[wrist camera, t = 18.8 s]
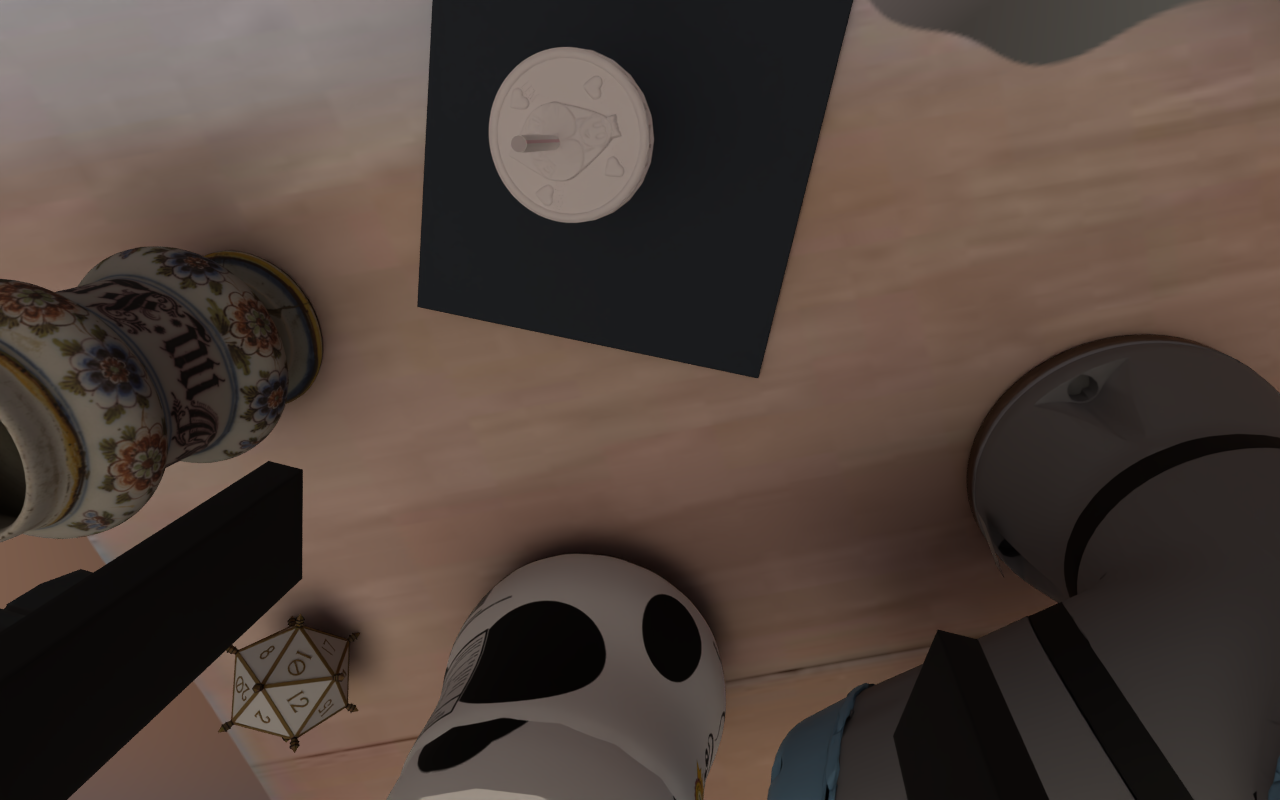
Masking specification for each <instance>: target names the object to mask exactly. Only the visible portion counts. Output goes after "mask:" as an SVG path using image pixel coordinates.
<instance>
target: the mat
mask: <svg viewBox="0 0 1280 800" xmlns="http://www.w3.org/2000/svg"><path fill="white" fill-rule="evenodd" d="M852 3H853V0H433V4H432V24H431V44H430V64H429V84H428V105H427V125H426V145H425V165H424V185H423V205H422V225H421V246H420V266H419V286H418V307H421V308H426V309H431V310H435V311H440V312H445V313H450V314H454V315H459V316H464V317H469V318H473V319H478V320H483V321H488V322H492V323H497V324H502V325H507V326H512V327H516V328H521V329H526V330H531V331H535V332H540V333H545V334H550V335H554V336H559V337H564V338H569V339H573V340H578V341H583V342H588V343H592V344H597V345H602V346H607V347H611V348H616V349H621V350H626V351H630V352H635V353H640V354H645V355H649V356H654V357H659V358H664V359H668V360H673V361H678V362H683V363H688V364H692V365H697V366H702V367H707V368H711V369H716V370H721V371H726V372H730V373H735V374H740V375H745V376H749V377H754V378H758V377H759V373H760V369H761V365H762V361H763V357H764V353H765V349H766V345H767V341H768V337H769V333H770V329H771V325H772V321H773V317H774V313H775V309H776V305H777V301H778V297H779V293H780V289H781V285H782V281H783V278H784V274H785V270H786V266H787V262H788V258H789V254H790V250H791V246H792V242H793V238H794V234H795V230H796V226H797V222H798V218H799V214H800V210H801V206H802V202H803V198H804V194H805V190H806V186H807V182H808V178H809V174H810V170H811V166H812V162H813V158H814V154H815V150H816V146H817V142H818V138H819V134H820V130H821V126H822V122H823V118H824V114H825V110H826V106H827V102H828V98H829V94H830V90H831V86H832V82H833V78H834V74H835V70H836V66H837V62H838V58H839V54H840V50H841V46H842V42H843V38H844V34H845V30H846V26H847V22H848V18H849V14H850V10H851V7H852ZM558 47H573V48H580V49H586V50H593V51H595V52H597V53H599V54H602V55H604V56H606V57H608V58H610V59H612V60H614V61H615V62H616V63H617V64H619V65H620V66H621V67H622V68H623V69H624V70H625V71H627V72H628V73H629V74H630V75H631V76H632V78H633V79H634V81H635V82H636V84H637V85H638V87H639V88H640V89H641V91H642V92H643V94H644V96H645V99H646V102H647V105H648V107H649V110H650V113H651V116H652V123H653V133H654V145H653V152H652V159H651V164H650V166H649V168H648V171H647V173H646V176H645V178H644V181H643V183H642V184H641V186H640V187H639V188H638V190H637V191H636V192H635V194H634V195H633V196H632V198H631V199H630V200H629V201H628V202H627V203H625V204H624V205H623V206H621V207H620V208H619V209H617V210H616V211H615V212H614V213H611V214H609V215H606V216H604V217H601V218H599V219H596V220H592V221H586V222H579V223H565V222H558V221H553V220H550V219H547V218H544V217H542V216H540V215H538V214H536V213H534V212H532V211H531V210H529V209H528V208H526V207H525V206H524V205H522V204H521V203H520V202H519V201H518V200H517V199H516V198H515V197H514V196H513V195H512V194H511V193H510V191H509V190H508V189H507V187H506V186H505V184H504V183H503V181H502V180H501V178H500V176H499V174H498V172H497V170H496V167H495V164H494V161H493V158H492V154H491V150H490V144H489V120H490V114H491V109H492V105H493V102H494V99H495V97H496V94H497V92H498V90H499V88H500V86H501V85H502V83H503V82H504V80H505V79H506V77H507V76H508V75H509V74H510V72H511V71H512V70H513V69H514V68H515V67H516V66H517V65H519V64H520V63H521V62H522V61H524V60H525V59H527V58H528V57H530V56H532V55H534V54H536V53H538V52H541V51H544V50H548V49H551V48H558Z"/></svg>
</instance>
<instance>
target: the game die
mask: <svg viewBox="0 0 1280 800" xmlns="http://www.w3.org/2000/svg"><path fill="white" fill-rule="evenodd" d="M304 620H305V619H304V618H303V617H302V615H301V614H300V615H299V616H298V617H297V618H296V619H295V618H294V617H293V616H291V618H290V619H289V620H288V625H289V627H288V628H285V629H283V630H281V631H279V632H277V633H274V634H272V635H270V636H268V637H266V638H264V639H261V640H259V641H257V642H255V643H253V644H251V645H248V646H246V647H244V648H242V649H240V650H238V649H237V648H236V646H235V647H234V646H233V645H231V646H230V647H229V648H228V649H227V650H226V651H227V653H228V652H229V653H230V654H235V670H234V685H233V701H232V716H231V721H229V722H225V724H222V726H221V728H220V730H219V731H218V732H225V731H226V732H227V730H228V729H231V727H232V725H238V726H242V727H245V728H249V729H253V730H257V731H261V732H264V733H268V734H272V735H276V736H280V737H282V739H283V740H284V741H285V742H287V741H288V740H290V739H291V742H290V745H291V746H290V749H292V750H293V751H294V753H295V751H296V749H297V748H298V747H299V741H298V739H297V738H299V737H300V736H302V735H303V734H305V733H306V732H308V731H310V730H311V729H313V728H314V727H316V726H317V725H319V724H320V723H322V722H324V721H325V720H327V719H328V718H330V717H331V716H333V715H335V714H336V713H338V712H339V711H341V710H342V709H344V708H346V709H347V710H348V711H350V713H351V712H355V711H358V709H357V708H356V705H353V704H352V703H351V704H349V703H348V682H349V644H350V642H352V641H354V640H355V639H357V638H358V636H359V634H360V633H352V635H349V638H347V639H345V638H342V637H339V636H335V635H332V634H329V633H326V632H322V631H319V630H316V629H313V628H309V627H306V626H303V623H304ZM295 624H296V625H295Z"/></svg>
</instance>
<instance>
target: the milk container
mask: <svg viewBox="0 0 1280 800" xmlns="http://www.w3.org/2000/svg"><path fill="white" fill-rule="evenodd" d="M725 711H726V690H725V681H724V673H723V668H722V663H721V659H720V655H719V651H718V647H717V644H716V641H715V638H714V636H713V634H712V632H711V630H710V628H709V626H708V624H707V623H706V621H705V619H704V618H703V617H702V615H701V614H700V612H699V611H698V610H697V608H696V607H695V606H694V605H693V603H692V602H691V601H690V600H689V598H687V597H686V596H685V595H684V594H683V593H682V592H681V591H680V590H678V589H677V588H676V587H675V586H673V585H672V584H671V583H669V582H668V581H667V580H666V579H664V578H663V577H661V576H660V575H658V574H657V573H655V572H653V571H651V570H649V569H647V568H645V567H642V566H640V565H637V564H634V563H632V562H629V561H626V560H624V559H620V558H617V557H614V556H608V555H599V554H585V553H568V554H562V555H557V556H554V557H550V558H545V559H542V560H538V561H535V562H532V563H530V564H527V565H525V566H523V567H521V568H519V569H517V570H515V571H514V572H512V573H511V574H509V575H508V576H506V577H505V578H504V579H503V580H501V581H500V582H499V583H498V584H497V585H496V586H495V587H494V588H493V589H492V590H491V591H490V592H489V593H488V594H487V595H486V596H485V597H484V598H483V599H482V600H481V601H480V602H479V604H478V605H477V606H476V607H475V609H474V610H473V611H472V612H471V614H470V615H469V617H468V618H467V620H466V622H465V623H464V625H463V626H462V628H461V630H460V632H459V634H458V636H457V638H456V640H455V643H454V645H453V648H452V650H451V653H450V656H449V660H448V664H447V668H446V672H445V677H444V682H443V688H442V693H441V697H440V700H439V702H438V705H437V706H436V708H435V710H434V712H433V714H432V715H431V717H430V719H429V720H428V722H427V724H426V725H425V727H424V729H423V730H422V732H421V734H420V735H419V737H418V739H417V740H416V742H415V744H414V746H413V747H412V749H411V751H410V753H409V755H408V757H407V759H406V761H405V763H404V766H403V769H402V772H401V775H400V777H399V779H398V780H397V782H396V784H395V786H394V787H393V789H392V791H391V792H390V794H389V796H388V798H387V799H386V800H704V787H705V782H706V778H707V776H708V773H709V771H710V768H711V766H712V763H713V761H714V759H715V756H716V753H717V750H718V747H719V744H720V741H721V737H722V732H723V727H724V721H725Z"/></svg>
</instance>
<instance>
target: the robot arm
mask: <svg viewBox="0 0 1280 800" xmlns="http://www.w3.org/2000/svg"><path fill="white" fill-rule="evenodd" d="M967 492H968V499H969V503H970V507H971V510H972V513H973V515H974V518H975V520H976V522H977V524H978V526H979V528H980V530H981V531H982V533H983V535H984V537H985V538H986V540H987V542H988V543H989V546H990V549H991V552H992V555H993V557H994V560H995V563H996V565H997V567H998V569H999V570H1000V572H1001V574H1002V576H1003V573H1002V571H1001V568H1000V565H999V562H998V559H997V556H996V554H997V555H998V556H999V558H1000V559H1001V560H1002V561H1003V562H1004V563H1005V564H1006V565H1007V566H1008V567H1009V568H1010V569H1011V570H1012V571H1013V572H1014V573H1015V574H1017V575H1018V576H1019V577H1020V578H1022V579H1023V580H1024V581H1026V582H1027V583H1028V584H1030V585H1031V586H1033V587H1035V588H1036V589H1038V590H1039V591H1041V592H1042V593H1044V594H1045V595H1047V596H1049V597H1050V598H1052V599H1053V600H1055V601H1056V602H1058V604H1056V605H1053V606H1051V607H1049V608H1047V609H1045V610H1042V611H1040V612H1038V613H1036V614H1033V615H1031V616H1029V617H1028V616H1027V617H1024V618H1022V619H1020V620H1018V621H1016V622H1013V623H1011V624H1009V625H1007V626H1005V627H1003V628H1000V629H998V630H996V631H994V632H992V633H989V634H987V635H985V636H983V637H981V638H979V639H973V638H969V637H965V636H961V635H957V634H953V633H949V632H945V631H941V630H937V633H936V635H935V637H934V640H933V642H932V645H931V647H930V649H929V652H928V654H927V656H926V659H925V661H924V664H922V665H920V666H917V667H915V668H913V669H911V670H909V671H906V672H904V673H902V674H899V675H897V676H895V677H892V678H890V679H888V680H885V681H883V682H881V683H879V684H876V685H875V684H868V683H864V684H862V685H859V686H857V687H856V688H854V689H853V690H852V691H851V692H850V693H849V694H848V695H847V697H846V698H844V699H842V700H840V701H839V702H837V703H835V704H833V705H831V706H829V707H827V708H825V709H823V710H821V711H819V712H818V713H816V714H814V715H812V716H810V717H808V718H806V719H804V720H803V721H801V722H800V723H798V724H797V725H796V726H795V727H794V728H793V729H792V730H791V731H790V732H789V733H788V734H787V736H786V737H785V739H784V740H783V742H782V743H781V745H780V747H779V749H778V752H777V754H776V757H775V762H774V765H773V767H772V774H771V785H770V788H769V791H768V798H767V800H1280V394H1279V392H1278V391H1277V390H1276V389H1275V388H1274V387H1273V386H1272V385H1270V384H1269V383H1268V382H1267V381H1266V380H1265V379H1263V378H1262V377H1261V376H1260V375H1258V374H1257V373H1256V372H1255V371H1253V370H1252V369H1251V368H1249V367H1248V366H1246V365H1245V364H1243V363H1241V362H1240V361H1238V360H1236V359H1234V358H1232V357H1230V356H1228V355H1226V354H1224V353H1221V352H1219V351H1217V350H1215V349H1213V348H1211V347H1209V346H1206V345H1203V344H1200V343H1197V342H1194V341H1191V340H1186V339H1182V338H1178V337H1171V336H1164V335H1127V336H1119V337H1112V338H1107V339H1102V340H1098V341H1094V342H1091V343H1087V344H1084V345H1081V346H1078V347H1076V348H1073V349H1070V350H1068V351H1066V352H1063V353H1061V354H1059V355H1057V356H1055V357H1053V358H1051V359H1049V360H1048V361H1046V362H1044V363H1042V364H1041V365H1039V366H1037V367H1036V368H1035V369H1033V370H1032V371H1030V372H1029V373H1027V374H1026V375H1025V376H1023V377H1022V378H1021V379H1020V380H1019V381H1017V382H1016V383H1015V384H1014V385H1013V386H1012V387H1011V388H1010V389H1009V390H1008V391H1007V392H1006V393H1005V394H1004V395H1003V396H1002V397H1001V398H1000V399H999V400H998V402H997V403H996V404H995V405H994V407H993V408H992V409H991V411H990V412H989V413H988V415H987V416H986V418H985V420H984V422H983V423H982V425H981V427H980V429H979V431H978V433H977V435H976V437H975V440H974V443H973V446H972V449H971V452H970V456H969V461H968V467H967ZM302 506H303V470H302V469H298V468H294V467H290V466H286V465H282V464H278V463H274V462H270V461H268V462H266V463H265V464H263V465H262V466H260V467H259V468H257V469H255V470H254V471H252V472H251V473H249V474H248V475H246V476H244V477H243V478H241V479H240V480H238V481H237V482H235V483H233V484H232V485H230V486H229V487H227V488H226V489H224V490H222V491H221V492H219V493H218V494H216V495H215V496H213V497H211V498H210V499H208V500H207V501H205V502H204V503H202V504H200V505H199V506H197V507H196V508H194V509H193V510H191V511H189V512H188V513H186V514H185V515H183V516H182V517H180V518H179V519H177V520H175V521H174V522H172V523H171V524H169V525H168V526H166V527H164V528H163V529H161V530H160V531H158V532H157V533H155V534H153V535H152V536H150V537H149V538H147V539H146V540H144V541H142V542H141V543H139V544H138V545H136V546H135V547H133V548H131V549H130V550H128V551H127V552H125V553H124V554H122V555H120V556H119V557H117V558H116V559H114V560H113V561H111V562H109V563H108V564H106V565H105V566H103V567H102V568H100V569H99V570H97V571H95V572H94V573H92V572H89V571H85V570H82V569H80V570H77V571H75V572H72V573H69V574H66V575H64V576H61V577H58V578H55V579H53V580H50V581H47V582H44V583H42V584H40V585H38V586H36V587H35V588H33V589H31V590H30V591H28V592H26V593H25V594H23V595H21V596H20V597H18V598H17V599H15V600H13V601H12V602H10V603H8V604H7V606H6V608H5V609H0V800H67V799H68V798H69V797H70V796H71V795H72V794H73V793H75V792H76V791H77V790H78V789H79V788H80V787H81V786H82V785H83V784H84V783H85V782H86V781H87V780H88V779H89V778H90V777H92V776H93V775H94V774H95V773H96V772H97V771H98V770H99V769H100V768H101V767H102V766H103V765H104V764H105V763H106V762H107V761H108V760H110V758H112V757H113V756H114V755H115V754H116V753H117V752H118V751H119V750H120V749H121V748H122V747H123V746H124V745H126V744H127V743H128V742H129V741H130V740H131V739H132V738H133V737H134V736H135V735H136V734H137V733H138V732H139V731H140V730H141V729H143V728H144V727H145V726H146V725H147V724H148V723H149V722H150V721H151V720H152V719H153V718H154V717H155V716H156V715H157V714H159V713H160V712H161V711H162V710H163V709H164V708H165V707H166V706H167V705H168V704H169V703H170V702H171V701H172V700H173V699H174V698H175V697H177V696H178V694H180V693H181V692H182V691H183V690H184V689H185V688H186V687H187V686H188V685H189V684H190V683H191V682H193V681H194V680H195V679H196V678H197V677H198V676H199V675H200V674H201V673H202V672H203V671H204V670H205V669H206V668H207V667H208V666H210V665H211V664H212V663H213V662H214V661H215V660H216V659H217V658H218V657H219V656H220V655H221V654H222V653H223V652H224V651H225V650H227V649H228V648H229V647H230V646H231V645H232V644H233V643H234V642H235V641H236V640H237V639H238V638H239V637H240V636H241V635H243V634H244V633H245V632H246V631H247V630H248V629H249V628H250V627H251V626H252V625H253V624H254V623H255V622H256V621H257V620H258V619H260V618H261V617H262V616H263V615H264V614H265V613H266V612H267V611H268V610H269V609H270V608H271V607H272V606H273V605H274V604H275V603H277V602H278V601H279V600H280V599H281V598H282V597H283V596H284V595H285V594H286V593H287V592H288V591H289V590H290V589H291V588H292V587H294V586H295V585H296V584H297V583H298V582H299V581H300V580H301V579H302ZM995 553H996V554H995ZM1003 577H1004V576H1003Z"/></svg>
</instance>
